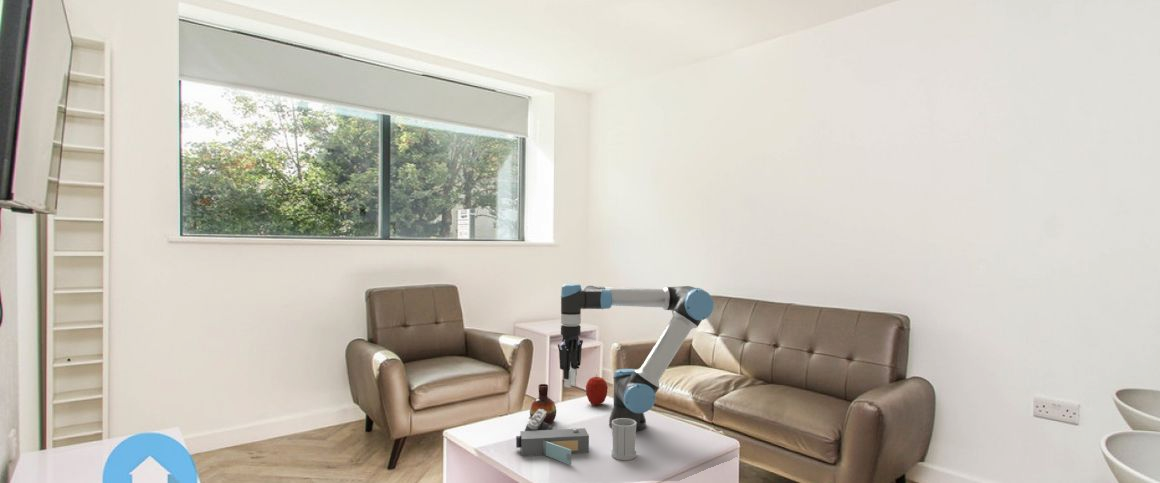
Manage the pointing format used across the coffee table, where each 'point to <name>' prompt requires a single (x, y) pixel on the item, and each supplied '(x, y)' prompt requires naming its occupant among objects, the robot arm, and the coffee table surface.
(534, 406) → the vase
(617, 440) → the cup
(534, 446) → the long gray box
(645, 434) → the coffee table surface
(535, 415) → the camera
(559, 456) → the side door
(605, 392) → the apple
